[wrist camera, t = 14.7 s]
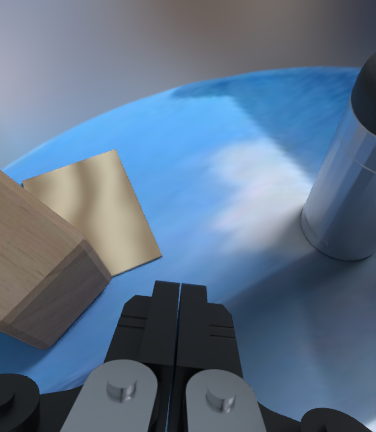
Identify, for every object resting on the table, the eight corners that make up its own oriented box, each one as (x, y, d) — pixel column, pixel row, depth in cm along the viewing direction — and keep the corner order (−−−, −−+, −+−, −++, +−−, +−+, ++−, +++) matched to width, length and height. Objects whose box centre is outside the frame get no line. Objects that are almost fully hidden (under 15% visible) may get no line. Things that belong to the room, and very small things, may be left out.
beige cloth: (116, 150, 49) (115, 149, 49) (162, 256, 40) (161, 255, 40) (23, 182, 47) (22, 180, 47) (49, 302, 38) (48, 301, 37)
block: (-9, 331, 26) (-129, 202, 33) (47, 356, 34) (-58, 248, 42) (88, 235, 30) (-39, 138, 37) (118, 279, 38) (9, 192, 46)
